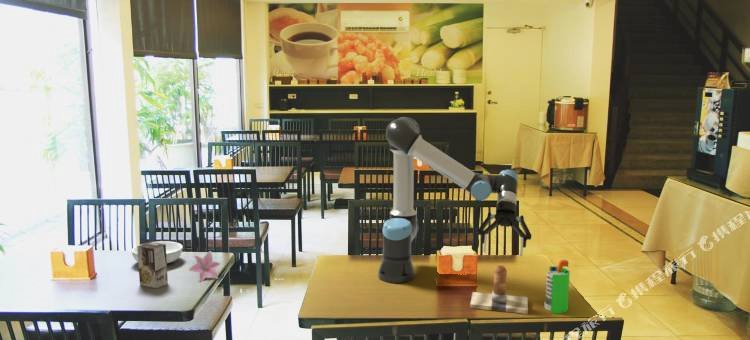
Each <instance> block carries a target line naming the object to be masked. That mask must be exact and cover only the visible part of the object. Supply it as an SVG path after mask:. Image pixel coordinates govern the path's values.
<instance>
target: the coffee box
mask: <svg viewBox="0 0 750 340" xmlns="http://www.w3.org/2000/svg"><path fill="white" fill-rule="evenodd" d="M152 242H153V241H147V242H145V243H142V245H141V244H138V245H139V246H138V245H136V246H137V252H138V262H137V263H138V264H137V265H138V275H139V286H144V287H148V288H153V289H159V288H161V287H163V286H165V285H167V284H168V283H169V282H168V281H169V279H168V278H169V277H168V263H167V260H166V245H165V244H159V243H152Z"/></svg>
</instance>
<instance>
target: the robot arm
mask: <svg viewBox="0 0 750 340" xmlns="http://www.w3.org/2000/svg"><path fill="white" fill-rule="evenodd" d="M385 138H386V140H387V142H388V143H389V151H391V152H392V153H393V193H392V194H393V197H392V198H393V207H392V209H391V210H390V211H389V219H387V220H386V221H384V222H383V226H382V260H381V262H380V265H379V268H378V271H377V272H378V273H377V276H378V279H380V280H381V281H384V282H387V283H393V284H394V283H397V284H399V283H400V284H401V283H408V282H411V281H413V280H414V279H415V277H416V271H415V268H414V265H413V262H412V261H413V260H412V242H413V240H414V239H415V238H416V236H417V235H418V232H419V222H418V215H417V214H418V212H417V211H416V210H415V208H414V189H415V188H414V184H415V183H414V182H415V181H414V179H415V178H414V176H415V171H414V169H415V163H414V162H415V158H416V159H417V160H419V161H420V162H422V163H424V164H425V165H427V166H428V167H429V168H432V169H433V170H434V171H436V172H437V173H439V174H441V175H442V176H443V177H445V178H446V179H448V180H449V181H452V182H453V183H454V184H456V185H458V186H459V187H460V188H462V189H463V190H465V191H466V192H468V193H469V194H471V196H472V197H473V198H474V199H475V200H477V201H485V200H487V199H488V198H489V197H490V196H491V194H497V195H496V196H497V199H496V201H497V202H496V210H495V214H494V213H491V212H490V211H489V212H487V215H486V217H485V219H484V221H483V222H482V224H481V225H480V226H479V228H478V229H477V235H480V236H481V240H480V241H481V244H483V253H486V252H487V241H488V240H487V239H488V235H489V234H490V233H491V232H492V231H493V230H494V229H496V228H498V227H499V226H500V227H506V228H507V227H508V228H509V227H511V228H512V229H513V230H514V231H515V232H516V233H517V235H518V236H519V237H520V252H519V254H520V255H519V256H520V257H523V253H524V251H523V250H524V249H525V248H526V247H527V241H528V240H531V239H532V236H533V235H532V233H531V231H530V229H529V228H528V225H527V224H526V222H525V217H524V215H522V214H521V215H519V216H517V215H516V214H517V211H516V210H517V194H518V186H519V185H518V178H519V177H518V174H517V172H515V171H514V170H512V169H504V170H501V171H500V172H499V174H488V173H487V174H486V173H477V172H474V171H473V170H471V169H470V168H468V167H466V166H464V164H462V163H461V162H458V161H457V160H455V159H454V158H453V157H451V156H449V155H447V154H446V153H445V152H443V151H442V150H440V149H439V148H437V147H435V146H434V145H433V144H431V143H429V142H427V141H426V140H424V138H423V137H422V134H420V126H419V124H418V122H417V121H416V120H415V119H413V118H411V117H406V116H402V117H398V118H397V119H393V120H392V121H391V122H389V123H388V125H387V126H386V130H385ZM493 219H494V221H493V222H492V223H491V224H490V225H489V223H490V221H492V220H493ZM516 221H517V222H518V223H520V224H519V225H520V226H521V227H520V226H519V225H518V224H517V222H516ZM521 228H522V229H521Z"/></svg>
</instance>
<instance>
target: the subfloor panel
mask: <svg viewBox="0 0 750 340" xmlns="http://www.w3.org/2000/svg"><path fill="white" fill-rule="evenodd" d="M528 303H529V302H528V296H520V295H519V296H518V295H508V294H507V300H506V302H505V303H495V302H493V301H492V293H485V292H475V291H472V293H471V300H470V303H469V304H470V305H469V306H470V307H469V308H470V309H476V310H477V309H478V310H483V311H484V310H486V311H496V312H507V313H517V314H524V315H526V314H527V315H528V313H529V307H528Z"/></svg>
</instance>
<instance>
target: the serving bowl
mask: <svg viewBox="0 0 750 340" xmlns="http://www.w3.org/2000/svg"><path fill="white" fill-rule="evenodd" d="M151 242H152V243H159V244H165V245H166V260H167V264H170V263H172V262H175V261H177V259H179V258H180V257H181V255H182V252H183V249H184V248H183V247H184V246H183V245H182V244H181V243H179V242H177V241H176V242H175V241H167V240H166V241H165V240H160V241H151ZM142 244H143V243H142ZM142 244H138V245H136V246H134V247H133V248H132V249H131V254H132V257H133V259H134V260H135V261H136V262H137V263H138V252H137V246H139V245H142Z"/></svg>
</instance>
